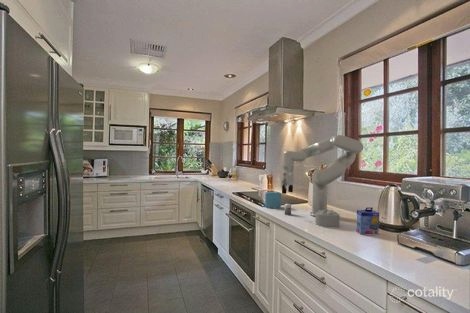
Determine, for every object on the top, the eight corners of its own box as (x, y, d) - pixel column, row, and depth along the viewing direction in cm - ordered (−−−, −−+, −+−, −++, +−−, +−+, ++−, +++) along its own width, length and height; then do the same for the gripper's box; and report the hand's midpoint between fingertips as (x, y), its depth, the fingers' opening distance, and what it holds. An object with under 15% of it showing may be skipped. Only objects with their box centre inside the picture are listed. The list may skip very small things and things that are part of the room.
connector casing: (292, 214, 168) (292, 204, 168) (289, 215, 164) (289, 205, 164) (286, 213, 170) (286, 203, 170) (283, 214, 167) (283, 204, 167)
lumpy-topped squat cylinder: (341, 227, 139) (341, 212, 139) (319, 227, 138) (319, 212, 138) (333, 222, 149) (333, 208, 149) (312, 222, 149) (313, 208, 149)
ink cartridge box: (360, 235, 126) (361, 207, 126) (355, 231, 132) (356, 205, 132) (379, 235, 126) (380, 208, 126) (373, 231, 132) (373, 205, 132)
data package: (279, 206, 191) (279, 191, 191) (281, 207, 187) (281, 192, 187) (264, 206, 191) (265, 191, 190) (265, 207, 186) (266, 192, 186)
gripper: (287, 169, 158) (286, 195, 158) (298, 168, 171) (297, 192, 172) (277, 168, 163) (276, 193, 163) (289, 167, 176) (288, 190, 176)
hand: (287, 192), depth 167 cm, fingers open, 9 cm apart
